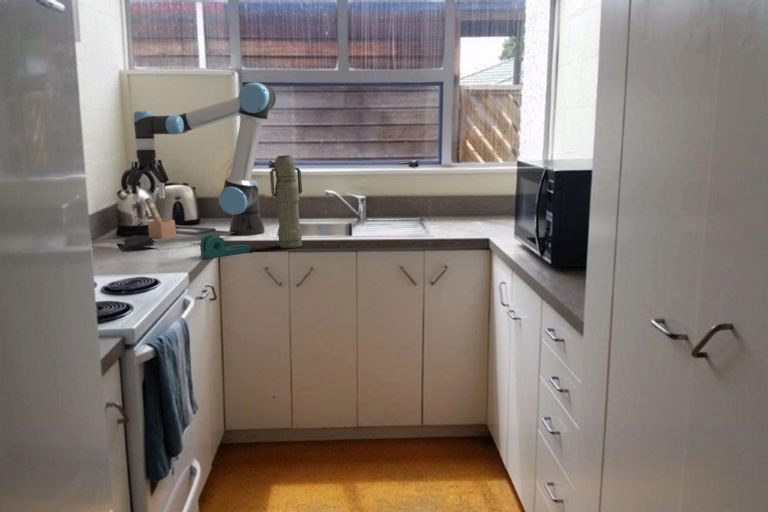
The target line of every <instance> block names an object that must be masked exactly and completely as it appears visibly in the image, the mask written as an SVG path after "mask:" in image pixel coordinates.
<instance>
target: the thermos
mask: <svg viewBox="0 0 768 512" xmlns="http://www.w3.org/2000/svg"><path fill="white" fill-rule="evenodd" d="M296 171H297V172H296ZM274 172H275V177H276V178H274ZM301 172H302V170H300V168H299V167H296V163H295V160H294V157H293V156H291V155H290V154H289V155H287V154H286V155H278V156H276V159H275V163H274V167H273V168H272V169H270V171H269V177H270V178H269V179H270V191H271V192H270V193H271V196H272V197H275V202H276V203H277V213H278V229H277V233H278V241H279V247H280V248H281V249H282V248H283V249H294V248H299V247H302V246H303V244H302V239H303V238H302V237H303V234H302V227H301V225H300V213H299V201H300V198H299V197H300V195H301V193H302V192H303V185H302V173H301ZM296 173H297V175H296ZM296 176H297V179H296ZM274 179H276V181H275V180H274ZM274 181H275V182H274Z"/></svg>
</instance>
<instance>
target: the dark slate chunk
mask: <svg viewBox="0 0 768 512" xmlns="http://www.w3.org/2000/svg"><path fill="white" fill-rule="evenodd" d="M122 241H123V242H124V243H116V244H117V245H116V246H117V247H118V249H120V251H122V253H125V252H127V253H129V252H130V253H131V252H140V251H150V250H156V249H158V247H152V246H154V245H155V244H154V243H157V241H155V240H154V239H152V237H149V235H148V236H147V235H139V234H134V235H131V236H130V237H129V236H128V237H126V238H125V239H122Z"/></svg>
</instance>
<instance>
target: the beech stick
mask: <svg viewBox="0 0 768 512" xmlns="http://www.w3.org/2000/svg"><path fill="white" fill-rule="evenodd" d="M144 202H145V204H146V206H147V209H148V211H149V213H150V215H151V217H152V219H153V221H155V222H162V217H161V215H160V214H159V213H160V212H158V210H157V207H156V205H155V203H154V200H153V199H152V197H146V198H145V199H144Z"/></svg>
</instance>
